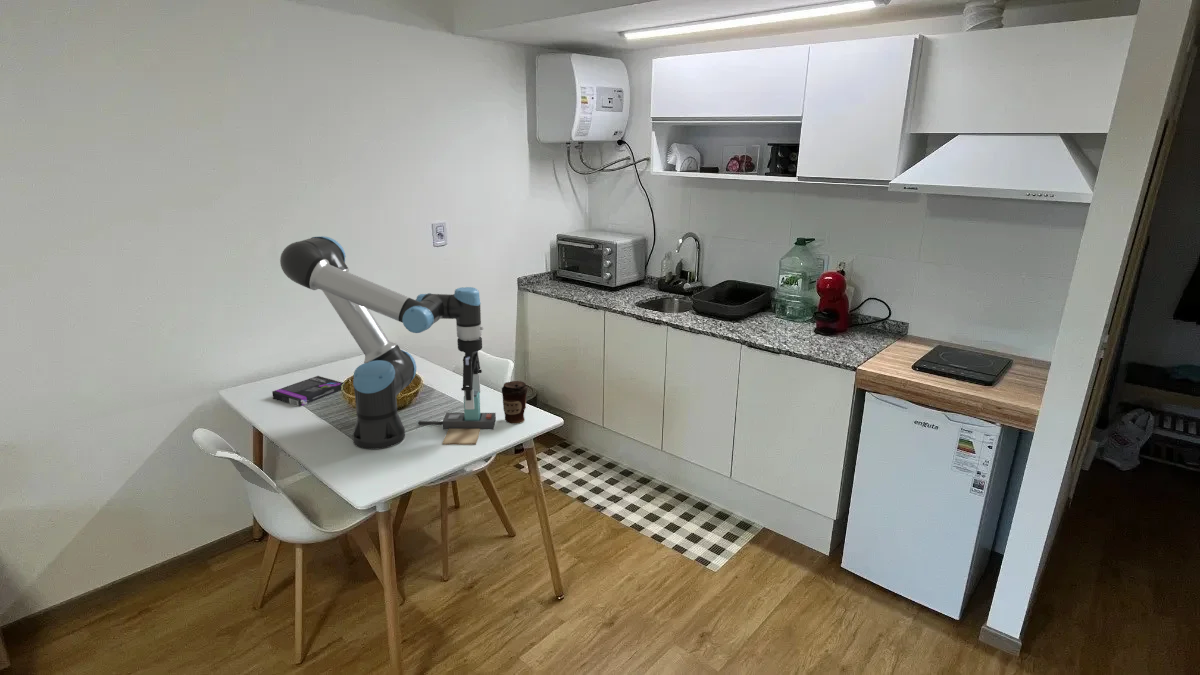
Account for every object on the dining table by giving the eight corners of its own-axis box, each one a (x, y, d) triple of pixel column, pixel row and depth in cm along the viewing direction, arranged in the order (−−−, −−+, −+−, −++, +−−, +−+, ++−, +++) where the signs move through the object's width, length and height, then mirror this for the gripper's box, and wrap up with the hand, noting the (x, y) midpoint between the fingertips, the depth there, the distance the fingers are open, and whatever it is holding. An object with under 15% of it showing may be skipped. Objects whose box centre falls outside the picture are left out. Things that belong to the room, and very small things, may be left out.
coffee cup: (522, 427, 203) (522, 390, 199) (498, 424, 204) (497, 387, 201) (530, 416, 211) (530, 380, 207) (507, 414, 213) (506, 378, 209)
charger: (464, 426, 201) (463, 395, 198) (467, 420, 206) (465, 390, 203) (478, 426, 202) (477, 395, 199) (480, 420, 206) (479, 390, 203)
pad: (442, 444, 190) (442, 442, 190) (448, 430, 200) (448, 428, 199) (475, 444, 191) (475, 442, 190) (480, 430, 200) (480, 428, 200)
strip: (415, 429, 200) (414, 419, 199) (420, 420, 206) (419, 410, 205) (493, 429, 201) (492, 419, 200) (495, 420, 207) (495, 411, 206)
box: (299, 409, 215) (345, 390, 231) (298, 399, 214) (344, 381, 230) (272, 400, 221) (319, 382, 237) (271, 391, 220) (318, 374, 236)
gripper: (475, 349, 183) (479, 416, 189) (486, 326, 207) (489, 386, 213) (450, 349, 183) (454, 416, 189) (464, 326, 207) (467, 386, 213)
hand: (473, 400), depth 201 cm, fingers open, 13 cm apart
